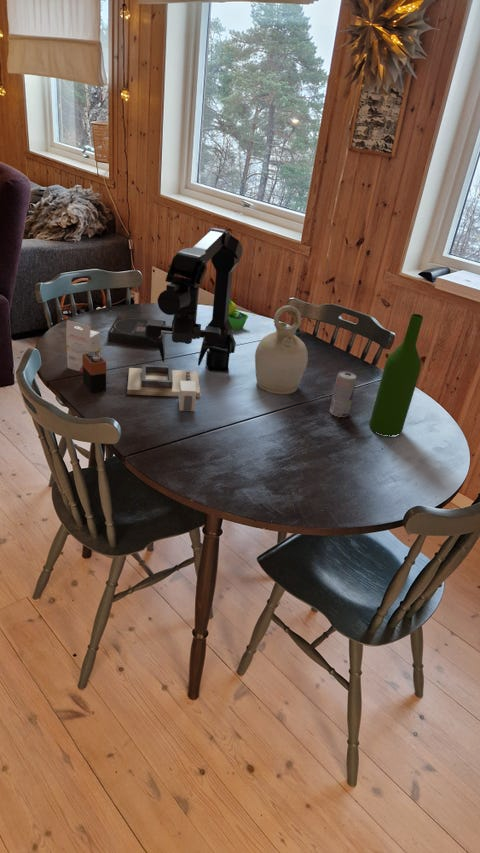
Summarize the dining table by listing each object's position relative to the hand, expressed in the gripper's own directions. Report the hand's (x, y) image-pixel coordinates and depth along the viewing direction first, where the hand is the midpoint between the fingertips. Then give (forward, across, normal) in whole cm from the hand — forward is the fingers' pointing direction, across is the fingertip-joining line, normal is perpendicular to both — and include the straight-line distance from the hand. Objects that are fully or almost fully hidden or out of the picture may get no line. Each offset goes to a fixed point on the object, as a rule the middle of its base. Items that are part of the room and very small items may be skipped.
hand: (181, 363), depth 147 cm
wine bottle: (+12, +57, -2) cm, 58 cm away
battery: (+13, -23, +5) cm, 27 cm away
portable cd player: (+12, -17, +46) cm, 51 cm away
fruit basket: (+11, +14, +66) cm, 68 cm away
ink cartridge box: (+12, -29, +17) cm, 36 cm away
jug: (+12, +28, +18) cm, 36 cm away
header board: (+12, -5, +12) cm, 17 cm away
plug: (+12, +2, 0) cm, 13 cm away
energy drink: (+12, +45, +4) cm, 47 cm away
